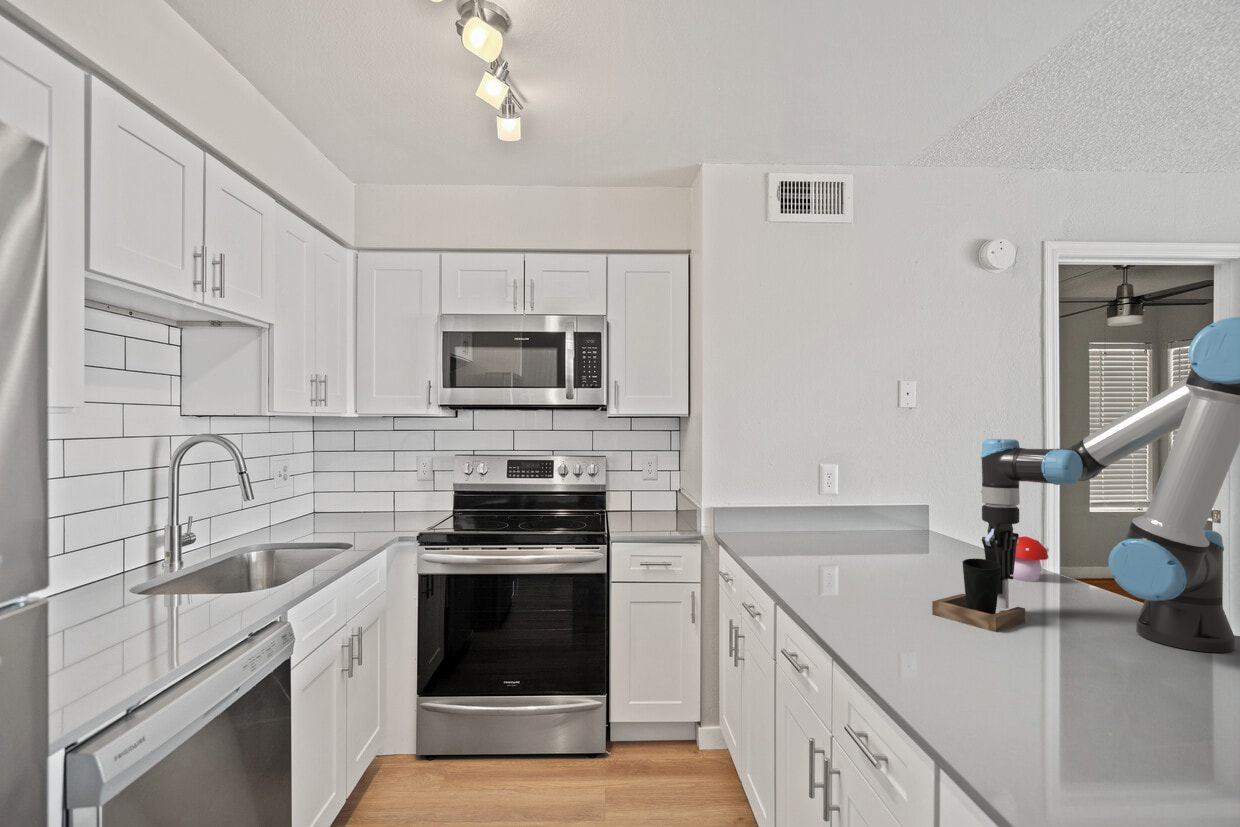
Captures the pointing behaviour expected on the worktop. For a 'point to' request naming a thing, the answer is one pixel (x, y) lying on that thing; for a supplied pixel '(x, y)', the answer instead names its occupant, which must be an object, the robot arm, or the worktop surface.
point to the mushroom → (1029, 559)
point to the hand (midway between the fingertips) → (1000, 606)
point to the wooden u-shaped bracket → (976, 614)
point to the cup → (981, 584)
